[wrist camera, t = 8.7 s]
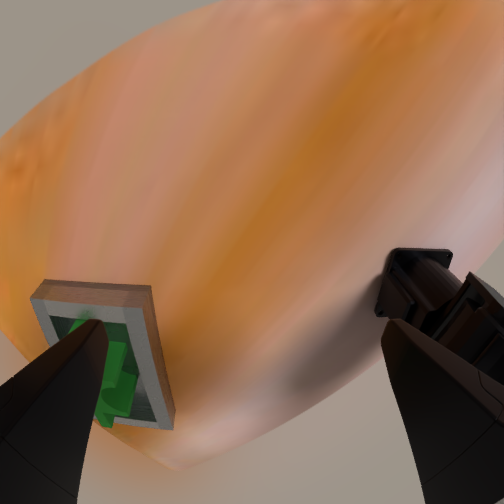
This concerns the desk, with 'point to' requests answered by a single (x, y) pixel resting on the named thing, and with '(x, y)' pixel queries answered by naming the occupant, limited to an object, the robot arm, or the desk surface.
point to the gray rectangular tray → (115, 338)
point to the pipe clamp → (113, 384)
